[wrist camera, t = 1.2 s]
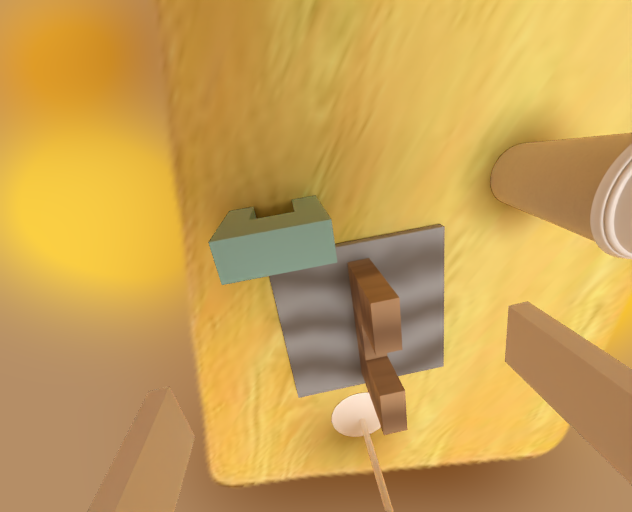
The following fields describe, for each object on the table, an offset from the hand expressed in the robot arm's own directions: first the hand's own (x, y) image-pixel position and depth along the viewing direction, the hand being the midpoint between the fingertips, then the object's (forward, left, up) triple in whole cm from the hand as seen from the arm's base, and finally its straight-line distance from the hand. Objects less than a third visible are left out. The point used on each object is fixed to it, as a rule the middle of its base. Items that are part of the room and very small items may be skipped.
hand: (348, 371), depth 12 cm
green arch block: (-1, -3, -22) cm, 22 cm away
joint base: (+13, +5, -22) cm, 26 cm away
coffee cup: (-1, +24, -22) cm, 33 cm away
